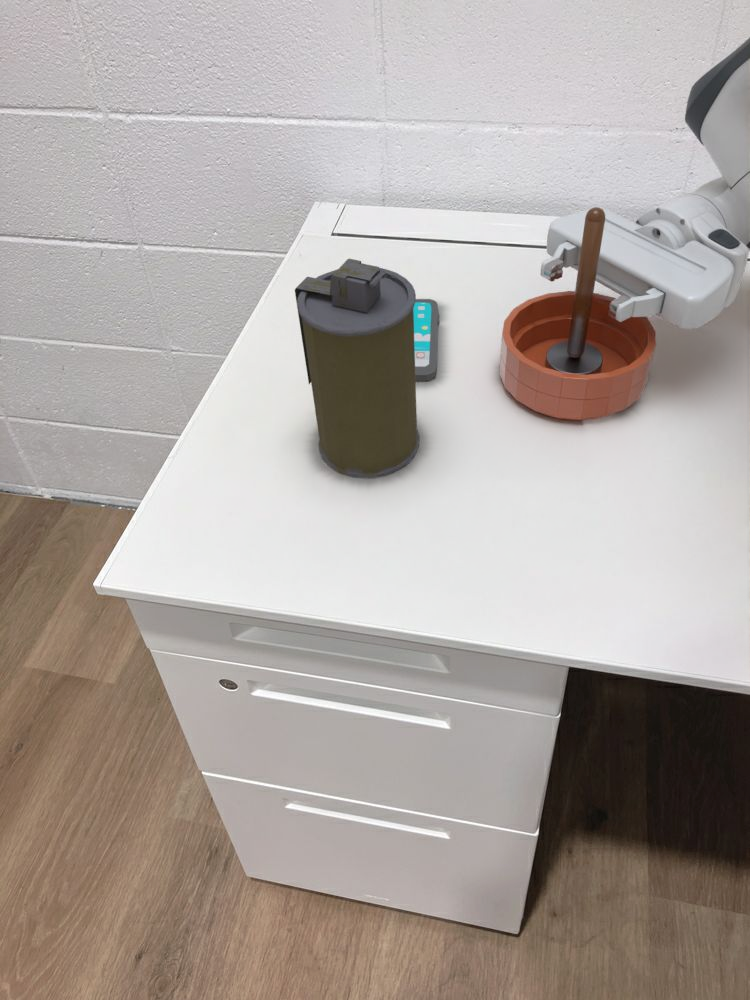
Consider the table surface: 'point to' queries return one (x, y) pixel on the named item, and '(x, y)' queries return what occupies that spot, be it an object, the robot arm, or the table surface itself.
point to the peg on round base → (582, 307)
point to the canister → (361, 366)
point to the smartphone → (425, 338)
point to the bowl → (564, 392)
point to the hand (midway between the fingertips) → (578, 291)
